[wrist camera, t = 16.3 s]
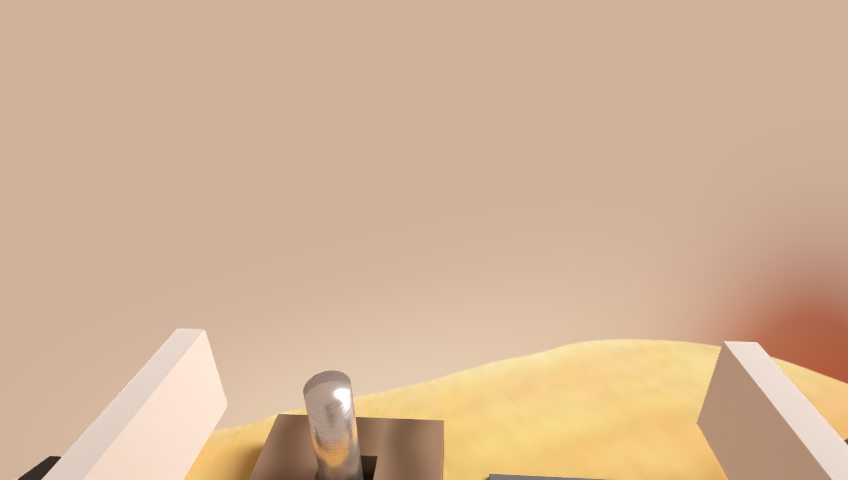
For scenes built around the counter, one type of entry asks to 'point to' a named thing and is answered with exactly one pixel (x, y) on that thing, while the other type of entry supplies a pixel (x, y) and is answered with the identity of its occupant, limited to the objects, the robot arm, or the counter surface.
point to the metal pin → (333, 426)
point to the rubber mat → (530, 477)
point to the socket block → (378, 442)
